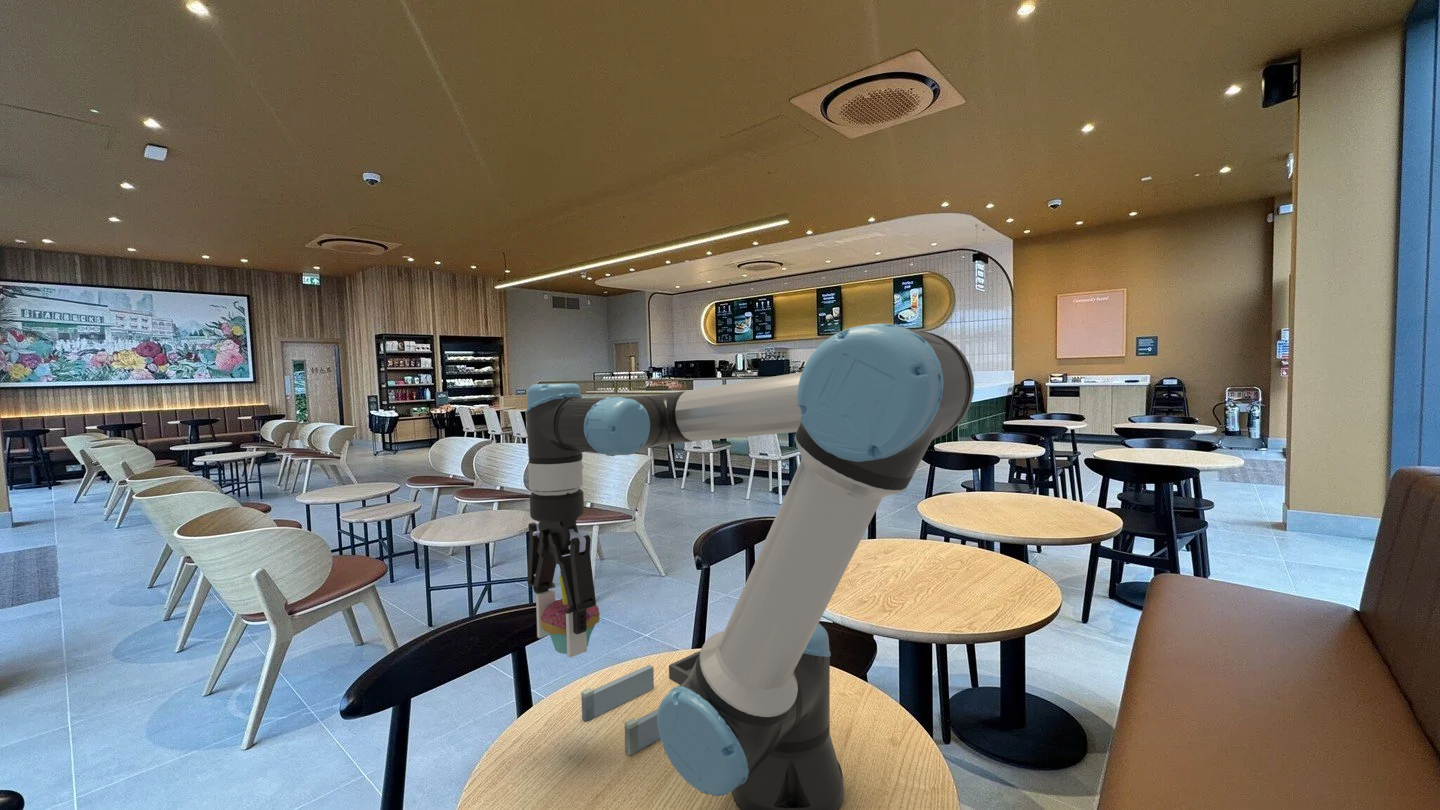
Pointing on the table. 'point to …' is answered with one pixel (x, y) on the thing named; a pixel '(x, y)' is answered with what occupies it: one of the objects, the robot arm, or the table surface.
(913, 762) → the table surface
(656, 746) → the table surface
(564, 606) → the cupcake
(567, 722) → the table surface
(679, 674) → the bin
